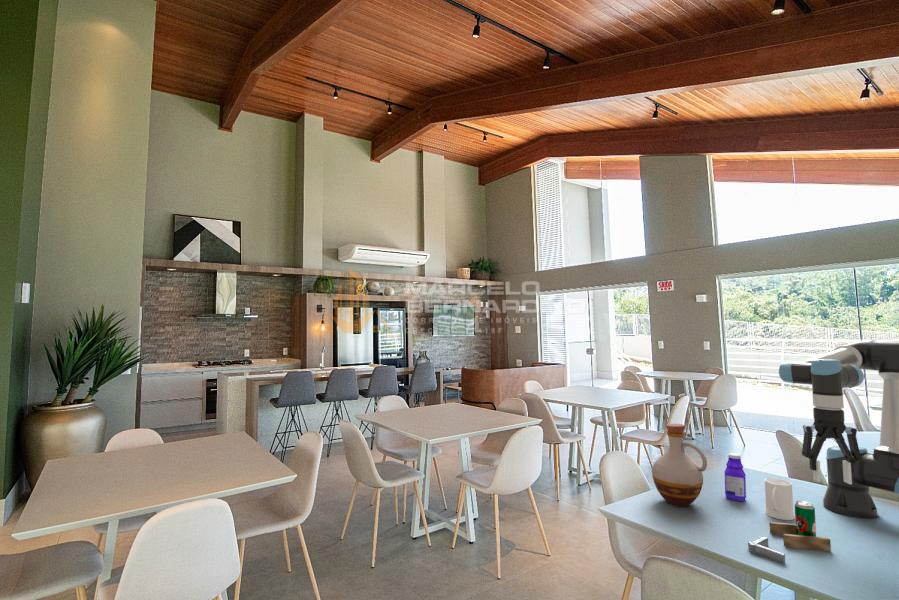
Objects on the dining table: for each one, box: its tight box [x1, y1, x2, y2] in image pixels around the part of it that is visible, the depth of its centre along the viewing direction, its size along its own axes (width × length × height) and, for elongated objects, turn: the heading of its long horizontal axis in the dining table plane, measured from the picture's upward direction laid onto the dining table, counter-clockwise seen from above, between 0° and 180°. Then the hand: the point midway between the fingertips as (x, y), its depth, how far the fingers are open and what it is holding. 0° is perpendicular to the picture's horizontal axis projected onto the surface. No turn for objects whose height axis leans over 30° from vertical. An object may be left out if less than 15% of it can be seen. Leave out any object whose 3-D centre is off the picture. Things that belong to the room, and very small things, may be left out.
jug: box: [651, 423, 708, 508], centre depth 176 cm, size 20×18×30 cm
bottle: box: [724, 452, 747, 502], centre depth 181 cm, size 7×6×17 cm
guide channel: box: [769, 521, 832, 552], centre depth 143 cm, size 12×10×4 cm
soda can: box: [794, 500, 817, 537], centre depth 143 cm, size 5×5×12 cm
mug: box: [764, 477, 795, 521], centre depth 163 cm, size 12×8×12 cm
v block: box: [747, 536, 786, 565], centre depth 136 cm, size 7×12×2 cm, turn 167°
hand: (832, 481), depth 142 cm, fingers open, 8 cm apart
